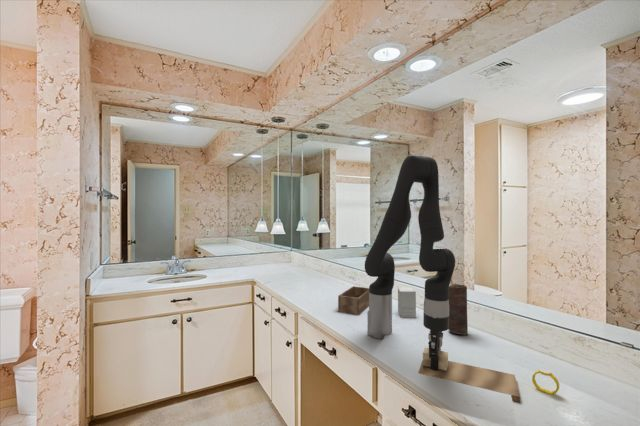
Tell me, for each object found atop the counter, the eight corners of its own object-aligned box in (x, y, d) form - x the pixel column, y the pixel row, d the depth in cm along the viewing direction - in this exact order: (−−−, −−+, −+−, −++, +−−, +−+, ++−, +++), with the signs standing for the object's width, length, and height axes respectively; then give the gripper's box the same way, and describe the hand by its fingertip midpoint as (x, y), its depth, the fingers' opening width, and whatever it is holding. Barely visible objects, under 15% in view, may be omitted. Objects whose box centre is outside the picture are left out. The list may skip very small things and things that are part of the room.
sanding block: (422, 366, 95) (422, 352, 95) (424, 361, 99) (424, 347, 99) (446, 372, 92) (446, 358, 92) (447, 366, 95) (448, 352, 95)
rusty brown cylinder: (455, 337, 120) (456, 287, 120) (443, 330, 128) (443, 283, 127) (471, 335, 123) (471, 286, 122) (458, 328, 130) (459, 282, 129)
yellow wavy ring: (532, 390, 86) (530, 368, 86) (534, 386, 88) (533, 365, 88) (558, 398, 81) (556, 375, 82) (560, 394, 83) (558, 372, 84)
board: (418, 377, 92) (418, 372, 92) (423, 360, 102) (423, 355, 102) (520, 402, 80) (520, 396, 80) (514, 379, 91) (514, 374, 91)
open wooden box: (338, 311, 151) (338, 295, 151) (353, 300, 170) (353, 286, 170) (359, 315, 146) (359, 298, 146) (372, 303, 165) (372, 288, 165)
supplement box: (412, 312, 150) (412, 287, 149) (416, 318, 142) (416, 291, 142) (397, 312, 150) (397, 287, 150) (400, 317, 143) (400, 291, 143)
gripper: (427, 303, 103) (426, 353, 103) (419, 317, 90) (419, 374, 91) (451, 307, 99) (450, 359, 100) (447, 322, 87) (446, 381, 87)
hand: (435, 365), depth 95 cm, fingers closed on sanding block, 4 cm apart
